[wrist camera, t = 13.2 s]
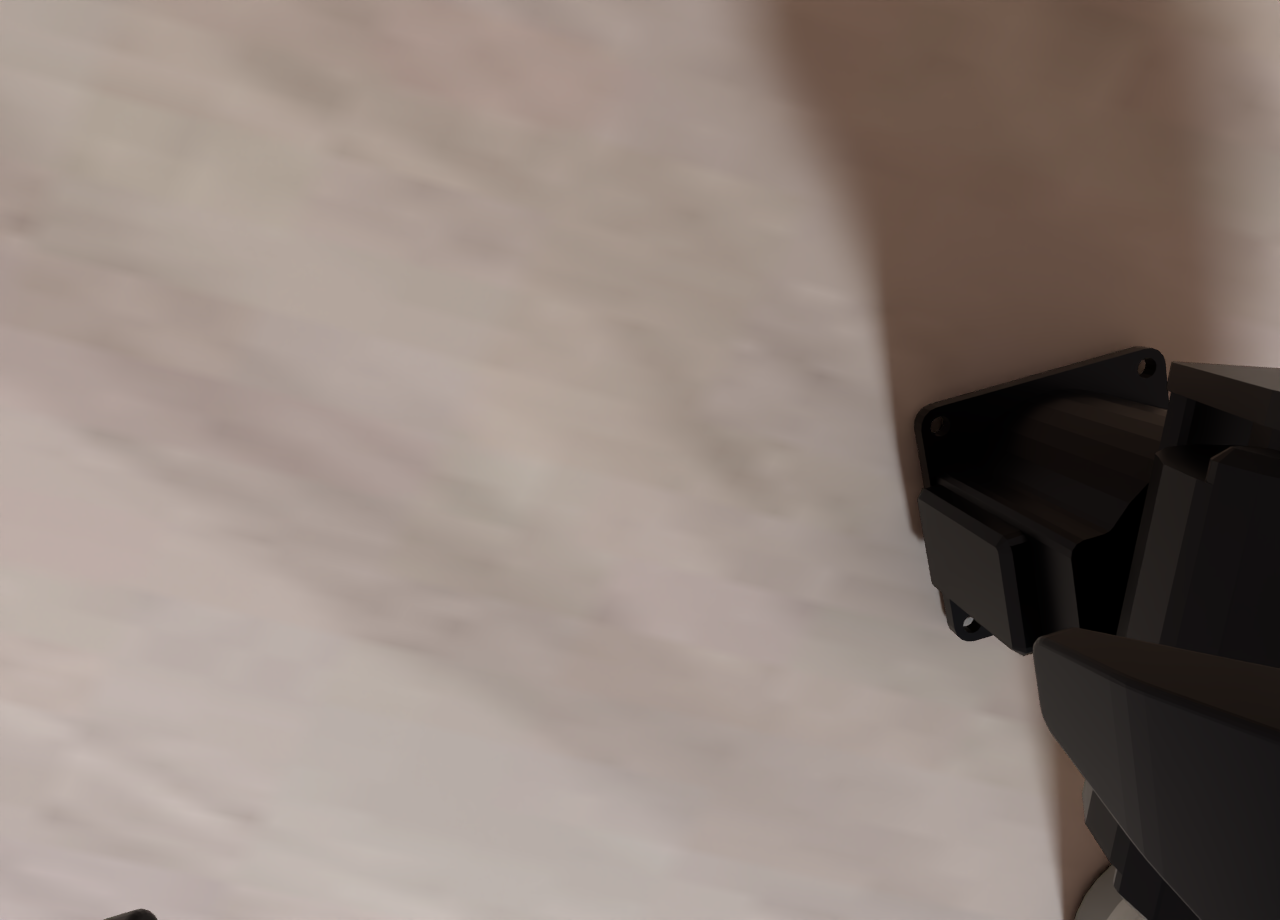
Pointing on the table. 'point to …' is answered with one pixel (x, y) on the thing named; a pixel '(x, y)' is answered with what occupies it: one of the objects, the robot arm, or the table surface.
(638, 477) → the table surface
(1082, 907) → the travel mug
